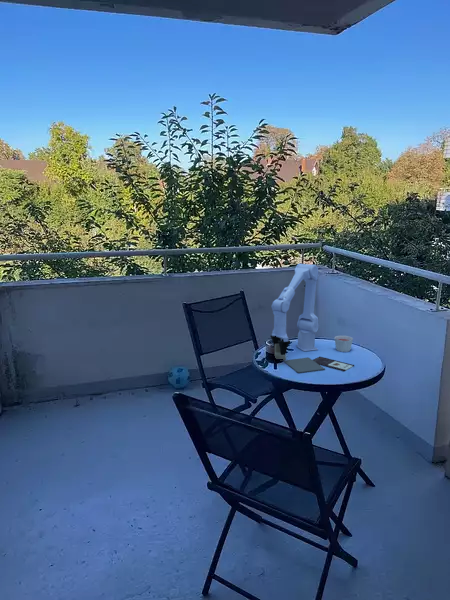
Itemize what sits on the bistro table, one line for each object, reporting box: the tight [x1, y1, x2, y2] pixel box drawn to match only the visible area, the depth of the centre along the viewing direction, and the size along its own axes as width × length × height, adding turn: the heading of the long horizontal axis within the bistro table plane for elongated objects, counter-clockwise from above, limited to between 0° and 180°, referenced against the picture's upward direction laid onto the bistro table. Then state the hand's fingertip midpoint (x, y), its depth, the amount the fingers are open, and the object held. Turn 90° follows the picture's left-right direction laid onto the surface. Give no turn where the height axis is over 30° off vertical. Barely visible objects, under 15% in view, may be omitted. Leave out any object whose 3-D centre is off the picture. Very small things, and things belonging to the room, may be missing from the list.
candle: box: [334, 335, 354, 353], centre depth 212 cm, size 9×9×6 cm
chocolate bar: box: [312, 356, 355, 372], centre depth 193 cm, size 9×1×18 cm
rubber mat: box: [283, 357, 326, 374], centre depth 192 cm, size 16×13×1 cm
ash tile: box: [273, 343, 287, 361], centre depth 199 cm, size 2×5×8 cm, turn 106°
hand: (279, 352), depth 199 cm, fingers open, 7 cm apart
